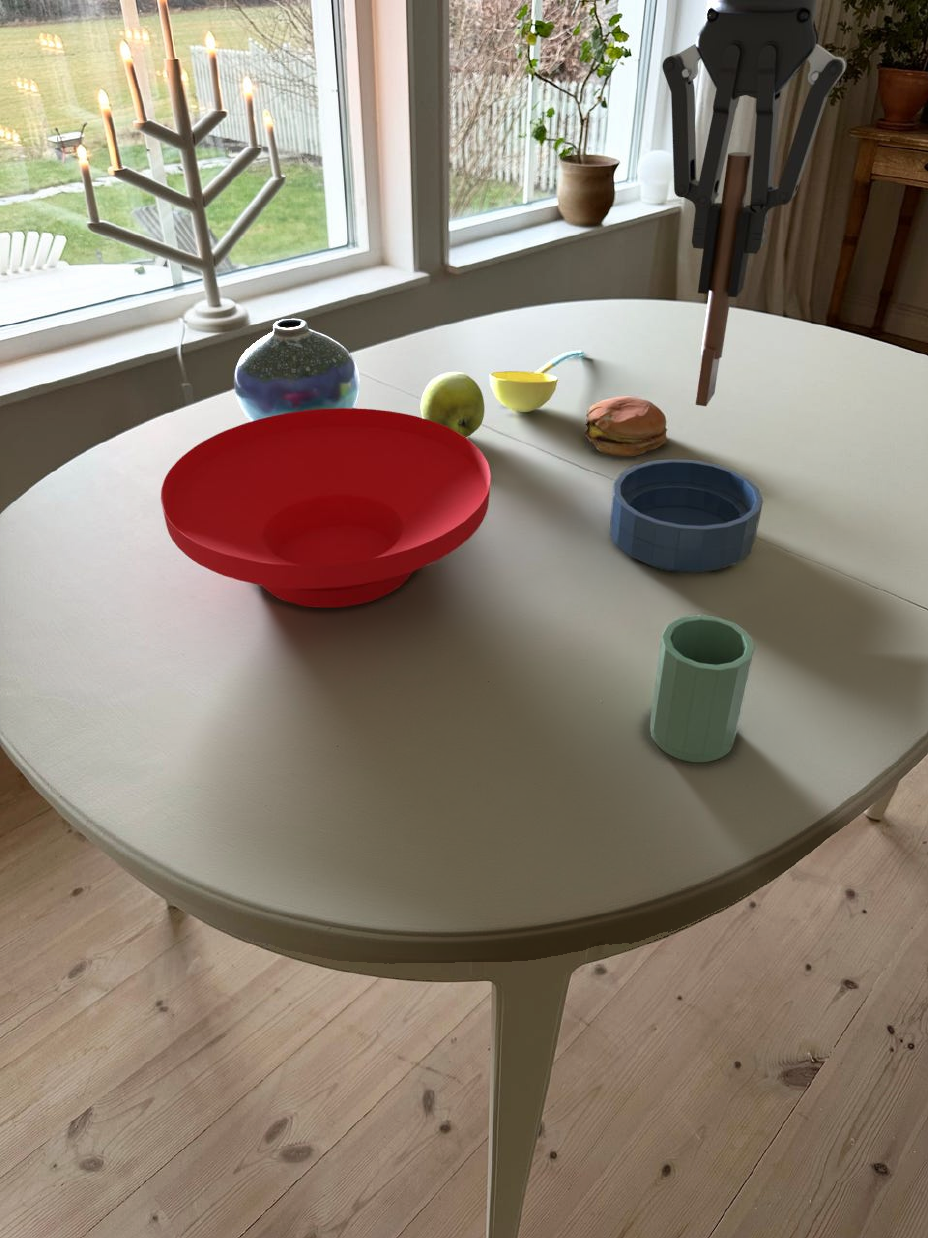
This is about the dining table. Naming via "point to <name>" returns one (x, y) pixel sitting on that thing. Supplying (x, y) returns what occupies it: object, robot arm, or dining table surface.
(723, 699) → the crock
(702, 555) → the blue pet dish
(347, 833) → the dining table surface
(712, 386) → the stick
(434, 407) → the apple
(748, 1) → the robot arm
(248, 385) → the vase
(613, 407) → the burger
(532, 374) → the ladle
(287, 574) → the bowl
